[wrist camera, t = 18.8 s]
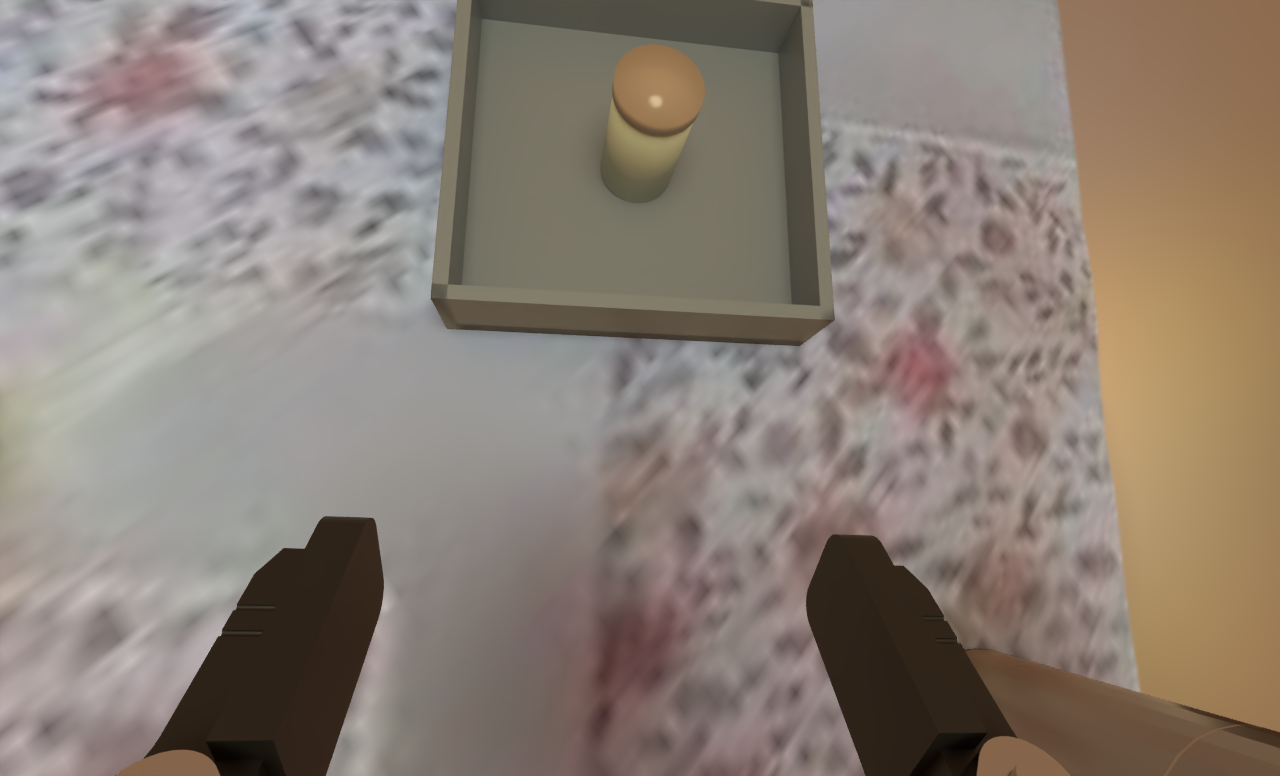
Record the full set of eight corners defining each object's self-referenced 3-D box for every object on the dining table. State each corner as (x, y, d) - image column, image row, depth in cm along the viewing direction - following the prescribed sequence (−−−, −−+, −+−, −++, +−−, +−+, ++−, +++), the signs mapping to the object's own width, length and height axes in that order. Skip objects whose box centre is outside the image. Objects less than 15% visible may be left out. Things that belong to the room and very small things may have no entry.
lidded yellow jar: (670, 139, 40) (702, 48, 32) (673, 206, 39) (707, 129, 31) (597, 134, 39) (612, 40, 31) (599, 202, 38) (614, 122, 30)
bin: (783, 55, 44) (812, -3, 39) (799, 345, 39) (834, 320, 34) (472, 19, 41) (461, -49, 36) (447, 328, 36) (430, 297, 31)
